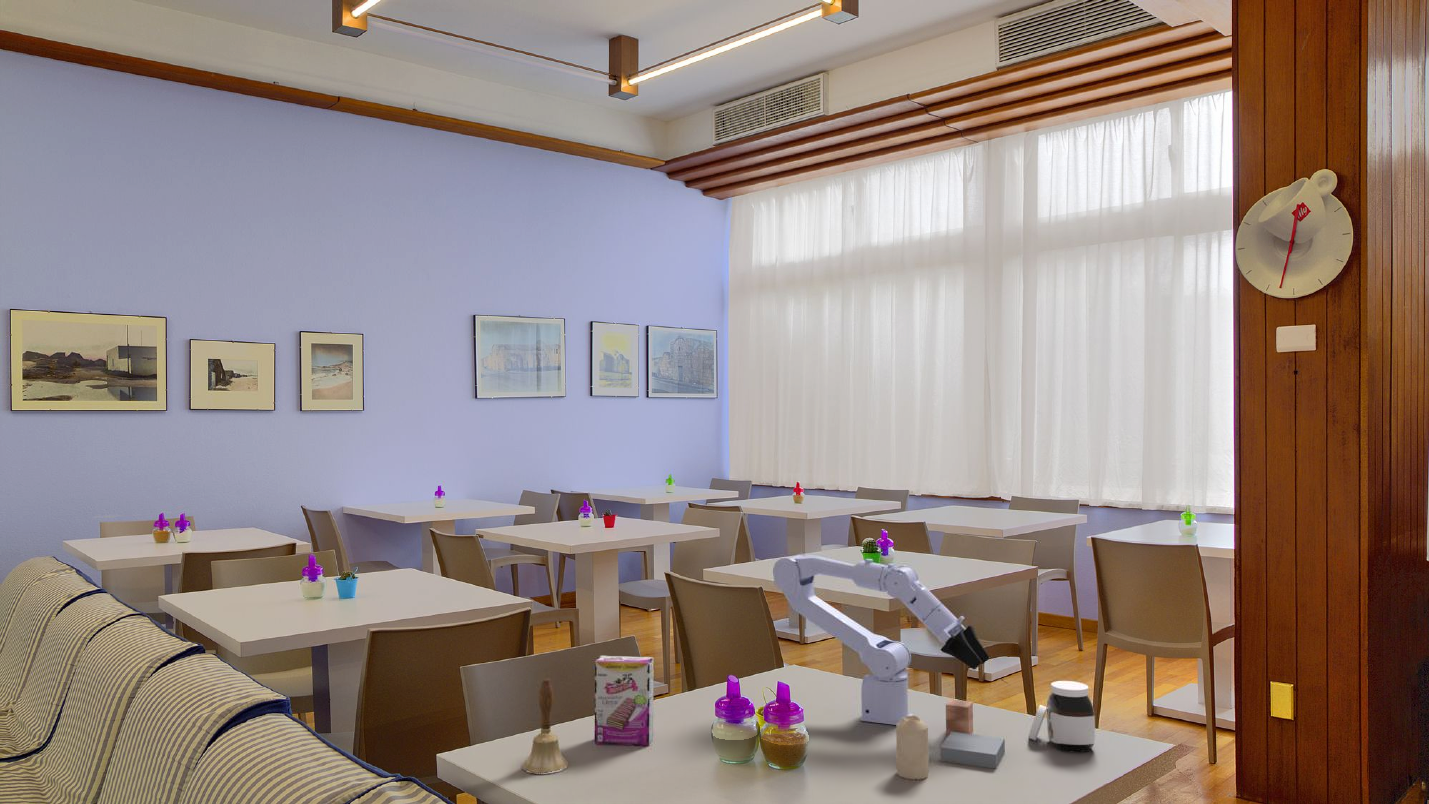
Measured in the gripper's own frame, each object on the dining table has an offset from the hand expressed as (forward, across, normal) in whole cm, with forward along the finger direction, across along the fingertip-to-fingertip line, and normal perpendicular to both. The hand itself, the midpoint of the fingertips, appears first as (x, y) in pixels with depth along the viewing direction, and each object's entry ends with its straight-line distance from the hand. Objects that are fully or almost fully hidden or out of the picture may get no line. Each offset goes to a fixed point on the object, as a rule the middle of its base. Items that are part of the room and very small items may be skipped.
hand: (982, 663), depth 190 cm
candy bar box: (-35, -35, +54) cm, 74 cm away
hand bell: (-38, -53, +59) cm, 88 cm away
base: (+11, -13, +11) cm, 20 cm away
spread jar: (+20, +1, +1) cm, 20 cm away
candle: (+6, -27, +17) cm, 32 cm away
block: (+6, 0, +14) cm, 15 cm away
